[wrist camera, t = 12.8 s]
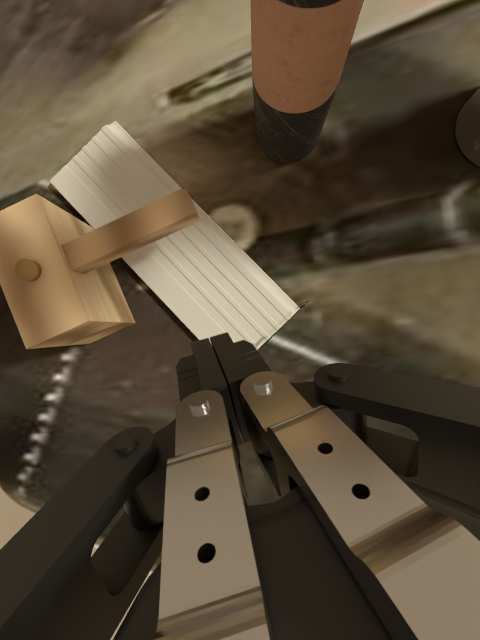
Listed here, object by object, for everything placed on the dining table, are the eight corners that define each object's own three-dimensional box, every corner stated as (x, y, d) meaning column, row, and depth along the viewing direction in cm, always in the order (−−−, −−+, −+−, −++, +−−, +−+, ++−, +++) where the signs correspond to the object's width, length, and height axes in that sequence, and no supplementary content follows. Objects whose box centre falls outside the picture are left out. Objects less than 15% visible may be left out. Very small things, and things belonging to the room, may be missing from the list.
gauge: (188, 186, 37) (158, 127, 26) (229, 280, 36) (216, 259, 25) (51, 251, 38) (-33, 219, 27) (89, 343, 37) (19, 349, 26)
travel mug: (315, 169, 36) (385, -32, 16) (248, 160, 36) (234, -46, 16) (326, 103, 36) (409, -179, 16) (260, 95, 36) (259, -187, 16)
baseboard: (127, 116, 38) (57, 187, 38) (116, 99, 35) (41, 175, 35) (309, 300, 36) (233, 373, 36) (313, 297, 33) (231, 376, 33)
